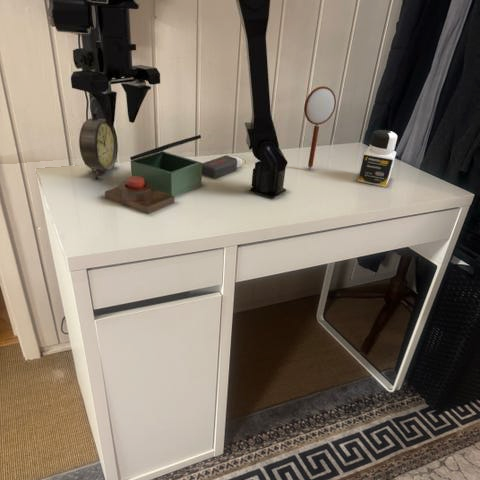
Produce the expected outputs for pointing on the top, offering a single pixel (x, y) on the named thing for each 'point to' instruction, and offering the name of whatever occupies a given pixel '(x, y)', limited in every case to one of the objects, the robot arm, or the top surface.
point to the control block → (140, 197)
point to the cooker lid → (165, 147)
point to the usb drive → (220, 166)
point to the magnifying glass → (318, 112)
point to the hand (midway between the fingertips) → (121, 124)
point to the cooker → (168, 172)
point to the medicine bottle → (379, 158)
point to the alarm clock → (98, 143)
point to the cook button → (135, 182)
